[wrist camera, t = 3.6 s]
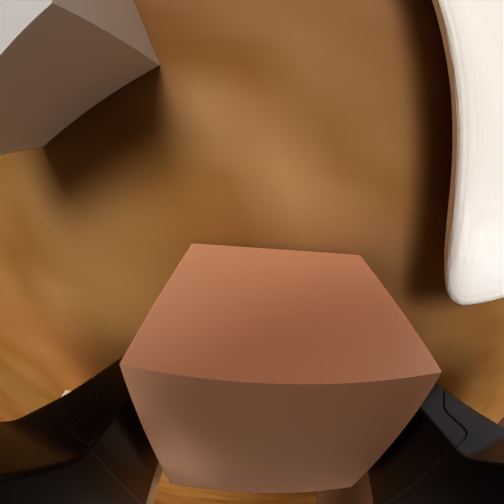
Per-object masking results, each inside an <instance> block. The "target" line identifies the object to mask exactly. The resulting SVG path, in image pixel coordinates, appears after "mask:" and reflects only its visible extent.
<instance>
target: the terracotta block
mask: <svg viewBox="0 0 504 504" xmlns="http://www.w3.org/2000/svg"><path fill="white" fill-rule="evenodd" d="M120 368H121V371H122V374H123V377H124V380H125V382H126V385H127V388H128V391H129V394H130V396H131V399H132V402H133V404H134V407H135V409H136V412H137V414H138V417H139V419H140V422H141V424H142V426H143V429H144V431H145V433H146V435H147V438H148V440H149V442H150V444H151V446H152V448H153V450H154V452H155V455H156V457H157V459H158V461H159V463H160V464H161V466H162V468H163V470H164V472H165V474H166V476H167V478H168V479H169V481H170V483H174V484H179V485H184V486H190V487H197V488H203V489H211V490H220V491H231V492H246V493H299V492H313V491H324V490H333V489H341V488H348V487H352V486H353V485H354V484H355V483H356V482H357V481H358V480H359V479H360V478H361V477H362V476H363V475H364V474H365V473H366V472H367V471H368V470H369V469H370V468H371V467H372V466H373V465H374V463H375V462H376V461H377V460H378V459H379V458H380V457H381V456H382V455H383V453H384V452H385V451H386V450H387V449H388V448H389V446H390V445H391V444H392V443H393V442H394V440H395V439H396V438H397V437H398V436H399V434H400V433H401V432H402V430H403V429H404V428H405V427H406V425H407V424H408V423H409V421H410V420H411V419H412V417H413V416H414V414H415V413H416V412H417V410H418V409H419V407H420V406H421V404H422V403H423V402H424V400H425V399H426V397H427V396H428V394H429V392H430V391H431V389H432V388H433V386H434V385H435V383H436V381H437V380H438V378H439V376H440V375H441V373H442V371H441V369H440V368H439V366H438V365H437V363H436V361H435V360H434V358H433V357H432V355H431V353H430V352H429V350H428V349H427V347H426V346H425V344H424V343H423V341H422V340H421V338H420V337H419V335H418V334H417V332H416V331H415V329H414V328H413V326H412V325H411V323H410V322H409V321H408V319H407V318H406V316H405V315H404V313H403V312H402V311H401V309H400V308H399V306H398V305H397V304H396V302H395V301H394V299H393V298H392V297H391V295H390V294H389V293H388V291H387V290H386V289H385V287H384V286H383V285H382V283H381V282H380V281H379V279H378V278H377V277H376V275H375V274H374V273H373V271H372V270H371V269H370V268H369V266H368V265H367V264H366V262H365V261H364V260H363V259H362V257H361V256H360V255H353V254H339V253H325V252H311V251H296V250H282V249H268V248H253V247H238V246H223V245H208V244H193V243H192V244H191V246H190V247H189V249H188V250H187V252H186V253H185V255H184V257H183V258H182V260H181V261H180V263H179V264H178V266H177V267H176V269H175V271H174V272H173V274H172V275H171V277H170V279H169V280H168V282H167V283H166V285H165V287H164V288H163V290H162V292H161V293H160V295H159V296H158V298H157V300H156V301H155V303H154V305H153V306H152V308H151V310H150V311H149V313H148V315H147V316H146V318H145V320H144V322H143V323H142V325H141V327H140V328H139V330H138V332H137V334H136V335H135V337H134V339H133V341H132V342H131V344H130V346H129V348H128V349H127V351H126V353H125V355H124V357H123V358H122V360H121V362H120Z"/></svg>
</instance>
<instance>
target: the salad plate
mask: <svg viewBox="0 0 504 504" xmlns="http://www.w3.org/2000/svg"><path fill="white" fill-rule="evenodd" d="M432 2H433V5H434V8H435V12H436V15H437V19H438V23H439V27H440V31H441V35H442V40H443V45H444V50H445V55H446V61H447V67H448V74H449V81H450V90H451V104H452V168H451V183H450V193H449V203H448V214H447V223H446V237H445V249H444V277H445V285H446V290H447V293H448V295H449V297H450V299H451V300H452V301H454V302H455V303H457V304H460V305H472V304H478V303H483V302H488V301H492V300H496V299H499V298H503V297H504V0H432Z"/></svg>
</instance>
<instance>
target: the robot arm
mask: <svg viewBox="0 0 504 504" xmlns="http://www.w3.org/2000/svg"><path fill="white" fill-rule="evenodd" d="M123 357H124V356H123ZM123 357H121V358H120V359H118V360H117V361H116V362H114V363H113V364H111V365H110V366H108V367H107V368H105V369H104V370H102V371H101V372H100V373H98V374H97V375H95V376H94V379H93V378H91V379H89V380H88V381H86V382H85V383H83V384H82V385H80V386H79V387H77V388H75V389H74V390H72V391H71V392H69V393H67V394H66V395H64V396H62V397H60V398H59V399H57V400H55V401H53V402H51V403H49V404H47V405H45V406H43V407H41V408H39V409H38V410H36V411H34V412H32V413H30V414H28V415H26V416H24V417H21V418H19V419H16V420H13V421H7V422H0V504H146V502H147V499H148V495H149V492H150V488H151V485H152V482H153V478H154V475H155V472H156V468H157V465H158V462H159V461H158V459H157V457H156V455H155V452H154V450H153V448H152V446H151V444H150V442H149V440H148V438H147V435H146V433H145V431H144V429H143V426H142V424H141V422H140V419H139V417H138V414H137V412H136V409H135V407H134V404H133V402H132V399H131V396H130V394H129V391H128V388H127V385H126V382H125V380H124V377H123V374H122V371H121V368H120V362H121V360H122V358H123ZM368 475H369V481H370V487H371V492H372V499H373V504H504V428H503V427H501V426H499V425H498V424H496V423H495V422H493V421H491V420H490V419H488V418H486V417H485V416H483V415H481V414H480V413H478V412H476V411H475V410H473V409H472V408H470V407H469V406H467V405H466V404H464V403H463V402H461V401H460V400H458V399H457V398H456V397H454V396H453V395H452V394H450V393H449V392H448V391H446V390H443V388H442V387H441V386H439V385H438V384H437V383H435V385H434V386H433V388H432V389H431V391H430V392H429V394H428V396H427V397H426V399H425V400H424V402H423V403H422V404H421V406H420V407H419V409H418V410H417V412H416V413H415V414H414V416H413V417H412V419H411V420H410V421H409V423H408V424H407V425H406V427H405V428H404V429H403V430H402V432H401V433H400V434H399V436H398V437H397V438H396V439H395V440H394V442H393V443H392V444H391V445H390V446H389V448H388V449H387V450H386V451H385V452H384V453H383V455H382V456H381V457H380V458H379V459H378V460H377V461H376V462H375V463H374V465H373V466H372V467H371V468H370V469H369V470H368Z"/></svg>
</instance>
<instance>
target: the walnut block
mask: <svg viewBox="0 0 504 504" xmlns="http://www.w3.org/2000/svg"><path fill="white" fill-rule="evenodd" d="M316 499H317V504H373V499H372V492H371V487H370V481H369V475H368V471H367V472H366V473H365V474H364V475H363V476H362V477H361V478H360V479H359V480H358V481H357V482H356V483H355V484H354V485H353V486H352V487H348V488H341V489H333V490H324V491H316Z"/></svg>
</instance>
